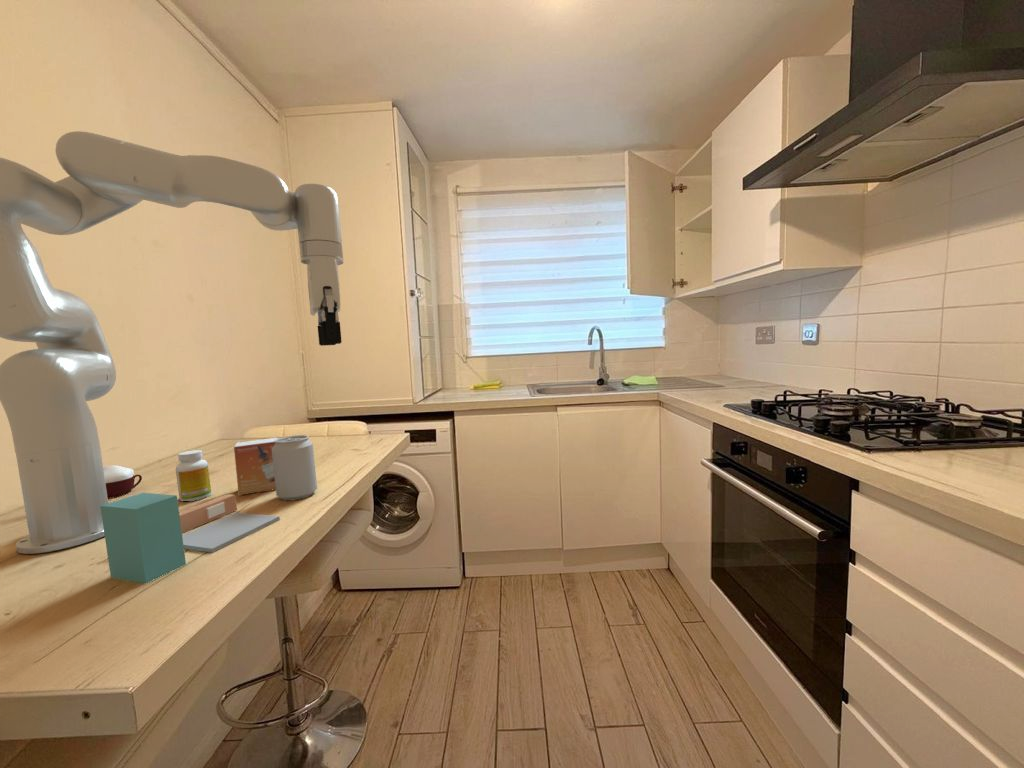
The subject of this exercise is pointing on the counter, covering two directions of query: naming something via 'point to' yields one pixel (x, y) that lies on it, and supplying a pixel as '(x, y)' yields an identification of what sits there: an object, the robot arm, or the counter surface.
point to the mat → (226, 531)
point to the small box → (254, 466)
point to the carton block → (143, 536)
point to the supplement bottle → (192, 476)
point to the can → (294, 467)
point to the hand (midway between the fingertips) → (330, 344)
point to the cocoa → (119, 480)
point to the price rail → (207, 512)
